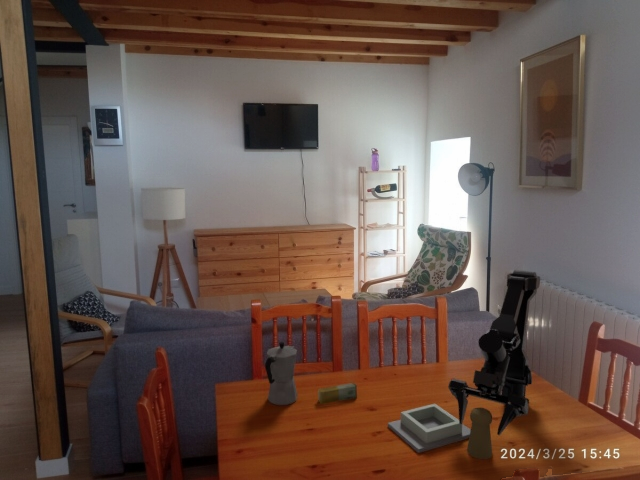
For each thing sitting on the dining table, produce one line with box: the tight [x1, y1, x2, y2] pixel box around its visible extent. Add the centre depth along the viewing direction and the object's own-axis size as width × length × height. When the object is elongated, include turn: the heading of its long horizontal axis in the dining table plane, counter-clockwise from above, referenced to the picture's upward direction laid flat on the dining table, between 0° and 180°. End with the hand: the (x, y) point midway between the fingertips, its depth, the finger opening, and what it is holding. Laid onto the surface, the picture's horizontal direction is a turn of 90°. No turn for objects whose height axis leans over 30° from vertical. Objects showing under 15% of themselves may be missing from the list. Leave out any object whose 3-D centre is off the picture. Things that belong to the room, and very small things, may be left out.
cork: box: [466, 407, 493, 460], centre depth 121 cm, size 6×6×11 cm
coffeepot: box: [264, 341, 298, 406], centre depth 148 cm, size 15×9×18 cm, turn 153°
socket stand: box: [387, 403, 471, 454], centre depth 131 cm, size 18×14×4 cm
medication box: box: [317, 382, 358, 405], centre depth 150 cm, size 12×3×4 cm, turn 110°
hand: (478, 429), depth 119 cm, fingers open, 9 cm apart
